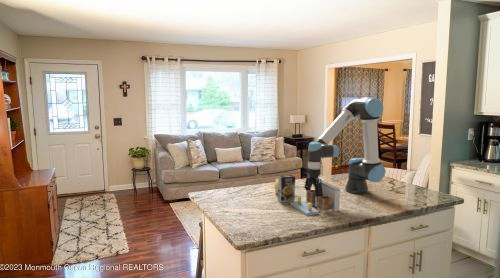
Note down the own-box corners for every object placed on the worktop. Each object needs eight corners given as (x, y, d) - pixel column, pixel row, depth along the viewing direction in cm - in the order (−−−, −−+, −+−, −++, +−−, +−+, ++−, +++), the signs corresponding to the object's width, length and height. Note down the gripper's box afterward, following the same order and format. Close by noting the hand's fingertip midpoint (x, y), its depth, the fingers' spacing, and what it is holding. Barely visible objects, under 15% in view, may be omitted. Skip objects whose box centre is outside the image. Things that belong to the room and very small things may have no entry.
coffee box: (281, 203, 205) (281, 177, 202) (277, 199, 211) (278, 174, 209) (294, 201, 207) (295, 176, 205) (290, 198, 213) (291, 174, 211)
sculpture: (291, 190, 231) (291, 175, 229) (291, 196, 219) (291, 180, 218) (274, 190, 232) (274, 175, 231) (274, 195, 220) (274, 179, 219)
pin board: (302, 203, 205) (302, 194, 204) (319, 214, 186) (319, 204, 185) (290, 204, 202) (290, 195, 201) (306, 215, 183) (306, 206, 183)
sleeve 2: (326, 208, 195) (326, 195, 194) (331, 212, 189) (331, 198, 188) (317, 209, 193) (318, 196, 192) (322, 213, 188) (323, 199, 186)
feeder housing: (322, 201, 208) (323, 180, 206) (338, 210, 191) (339, 188, 190) (317, 202, 207) (318, 181, 205) (334, 211, 190) (334, 189, 188)
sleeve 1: (314, 202, 207) (315, 189, 206) (319, 204, 202) (319, 192, 200) (306, 203, 205) (307, 190, 204) (311, 205, 200) (311, 192, 199)
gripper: (299, 164, 210) (298, 198, 213) (318, 172, 188) (317, 210, 191) (310, 164, 212) (308, 197, 215) (330, 171, 191) (328, 209, 194)
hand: (312, 203), depth 203 cm, fingers open, 10 cm apart
